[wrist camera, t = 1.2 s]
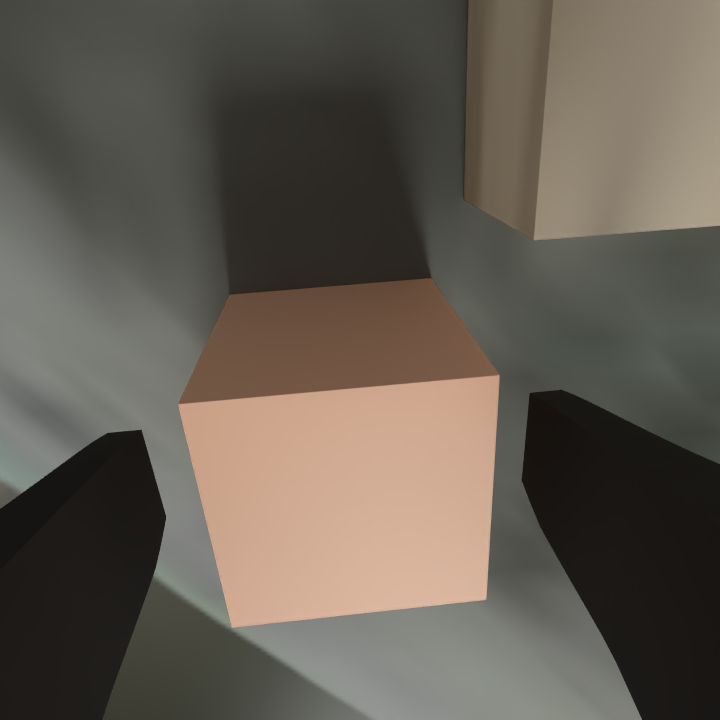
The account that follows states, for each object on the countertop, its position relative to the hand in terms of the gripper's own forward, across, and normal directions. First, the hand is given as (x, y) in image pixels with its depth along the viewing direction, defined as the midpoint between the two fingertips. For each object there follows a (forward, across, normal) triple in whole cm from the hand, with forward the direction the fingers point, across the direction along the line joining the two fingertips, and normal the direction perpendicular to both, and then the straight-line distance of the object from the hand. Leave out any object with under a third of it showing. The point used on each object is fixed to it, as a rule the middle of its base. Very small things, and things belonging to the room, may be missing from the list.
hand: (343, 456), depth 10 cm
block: (+3, 0, 0) cm, 3 cm away
